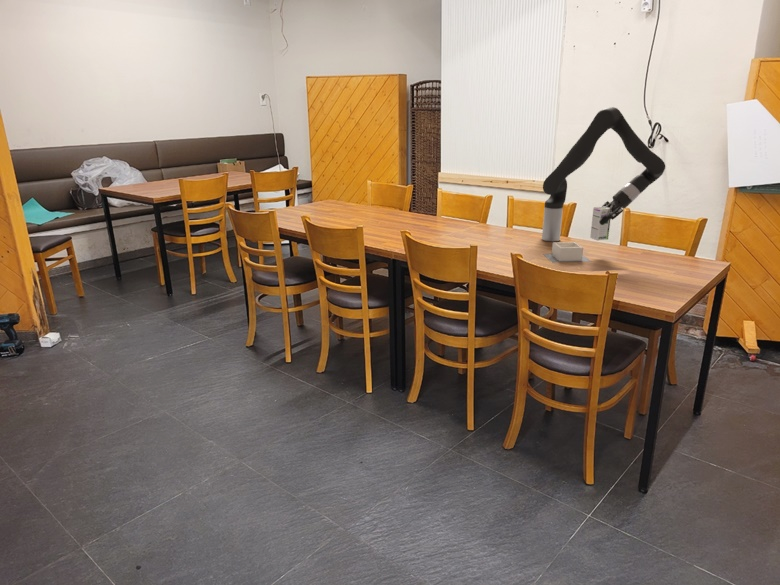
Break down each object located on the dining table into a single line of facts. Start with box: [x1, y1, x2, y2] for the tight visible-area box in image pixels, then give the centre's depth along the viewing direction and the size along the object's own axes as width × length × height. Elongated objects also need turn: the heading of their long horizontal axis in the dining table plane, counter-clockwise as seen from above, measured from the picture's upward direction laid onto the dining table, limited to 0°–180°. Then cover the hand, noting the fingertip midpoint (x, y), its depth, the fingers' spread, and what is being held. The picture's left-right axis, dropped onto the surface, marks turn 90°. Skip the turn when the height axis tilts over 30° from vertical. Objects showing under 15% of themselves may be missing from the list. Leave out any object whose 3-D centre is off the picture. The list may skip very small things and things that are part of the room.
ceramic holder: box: [551, 241, 584, 261], centre depth 251 cm, size 10×10×6 cm
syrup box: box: [590, 206, 611, 241], centre depth 249 cm, size 6×6×14 cm
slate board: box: [542, 253, 593, 264], centre depth 252 cm, size 14×18×2 cm
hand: (597, 221), depth 249 cm, fingers closed on syrup box, 6 cm apart
